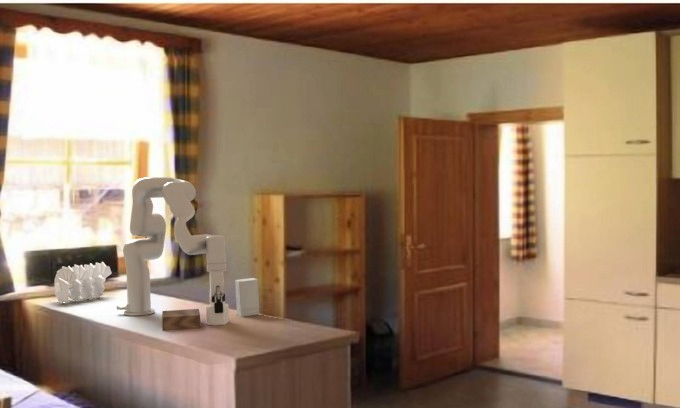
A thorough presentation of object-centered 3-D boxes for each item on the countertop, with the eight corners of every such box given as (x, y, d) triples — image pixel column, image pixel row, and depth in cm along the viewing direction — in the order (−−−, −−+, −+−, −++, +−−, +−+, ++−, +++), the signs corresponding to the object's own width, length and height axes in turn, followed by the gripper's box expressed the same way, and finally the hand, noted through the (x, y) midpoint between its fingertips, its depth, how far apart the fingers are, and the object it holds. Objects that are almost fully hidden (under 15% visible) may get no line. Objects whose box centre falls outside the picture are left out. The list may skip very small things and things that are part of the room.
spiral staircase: (53, 311, 344) (99, 301, 363) (71, 298, 333) (118, 288, 353) (41, 276, 347) (87, 267, 367) (59, 262, 337) (105, 254, 357)
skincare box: (255, 312, 306) (254, 277, 306) (259, 315, 301) (258, 279, 300) (235, 314, 302) (234, 279, 302) (240, 317, 297) (239, 280, 296)
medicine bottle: (229, 321, 288) (228, 291, 288) (224, 325, 281) (223, 294, 281) (211, 321, 289) (210, 291, 288) (206, 325, 282) (205, 294, 281)
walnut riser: (162, 330, 273) (162, 317, 273) (162, 323, 287) (162, 311, 287) (200, 328, 277) (200, 314, 276) (199, 321, 290) (198, 308, 290)
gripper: (205, 265, 292) (207, 308, 292) (207, 270, 275) (209, 315, 275) (224, 264, 293) (226, 306, 294) (227, 268, 277) (229, 313, 277)
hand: (218, 310), depth 285 cm, fingers open, 9 cm apart
